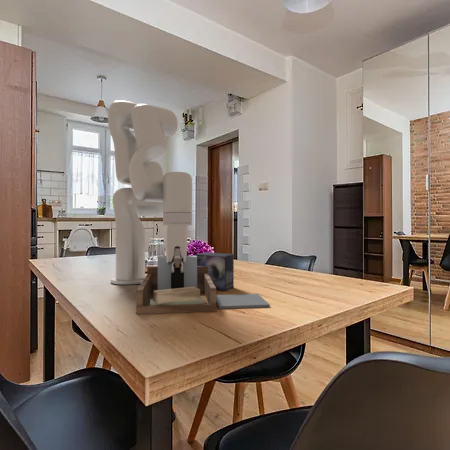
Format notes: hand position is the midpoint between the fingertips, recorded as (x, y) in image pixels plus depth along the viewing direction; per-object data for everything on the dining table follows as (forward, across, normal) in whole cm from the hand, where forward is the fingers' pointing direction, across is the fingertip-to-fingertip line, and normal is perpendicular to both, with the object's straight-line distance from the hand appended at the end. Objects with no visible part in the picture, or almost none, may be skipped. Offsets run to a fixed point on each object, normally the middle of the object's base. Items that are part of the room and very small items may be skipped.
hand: (177, 285), depth 85 cm
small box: (+4, -13, +11) cm, 18 cm away
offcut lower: (+4, +10, 0) cm, 11 cm away
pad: (+3, +6, +16) cm, 17 cm away
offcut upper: (+1, +10, 0) cm, 10 cm away
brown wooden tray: (+3, +1, 0) cm, 4 cm away
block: (+4, 0, 0) cm, 4 cm away
